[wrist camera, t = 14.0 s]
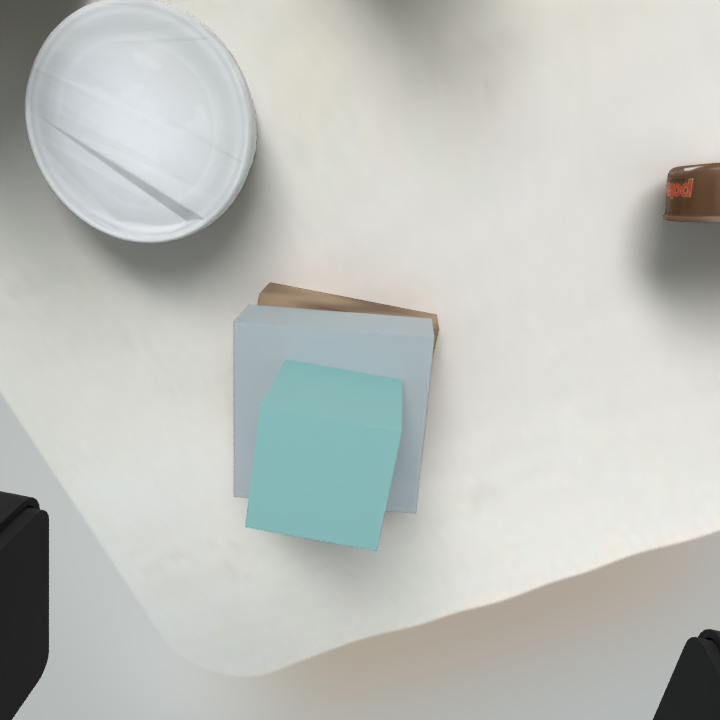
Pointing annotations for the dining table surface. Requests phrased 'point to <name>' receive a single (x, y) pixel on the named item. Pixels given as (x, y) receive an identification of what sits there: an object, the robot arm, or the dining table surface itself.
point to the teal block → (325, 454)
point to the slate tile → (337, 350)
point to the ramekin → (140, 120)
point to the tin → (693, 193)
